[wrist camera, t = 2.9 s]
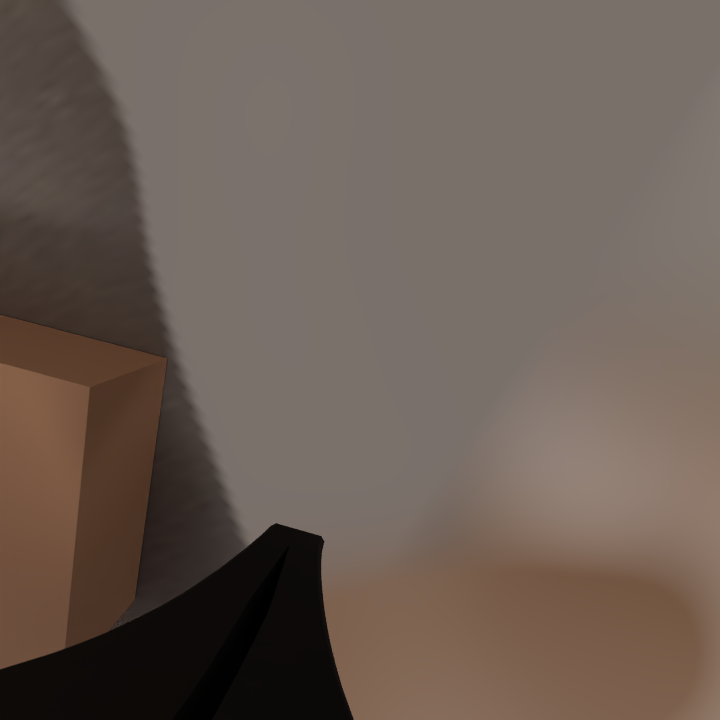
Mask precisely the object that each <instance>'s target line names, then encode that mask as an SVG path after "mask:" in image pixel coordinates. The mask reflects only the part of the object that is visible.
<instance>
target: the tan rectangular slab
mask: <svg viewBox="0 0 720 720" xmlns="http://www.w3.org/2000/svg"><path fill="white" fill-rule="evenodd" d="M166 365H167V358H164V357H160V356H156V355H153V354H149V353H145V352H141V351H137V350H133V349H130V348H126V347H122V346H118V345H114V344H111V343H107V342H103V341H99V340H95V339H91V338H88V337H84V336H80V335H76V334H72V333H69V332H65V331H61V330H57V329H53V328H49V327H46V326H42V325H38V324H34V323H30V322H27V321H23V320H19V319H15V318H11V317H7V316H4V315H0V669H3V668H6V667H9V666H12V665H16V664H19V663H22V662H25V661H29V660H32V659H35V658H38V657H42V656H45V655H48V654H51V653H54V652H57V651H60V650H62V649H65V648H68V647H71V646H73V645H76V644H79V643H81V642H84V641H87V640H89V639H92V638H94V637H97V636H99V635H101V634H104V633H106V632H109V630H110V629H111V628H112V627H113V626H114V624H115V623H116V622H117V621H118V620H119V618H120V617H121V616H122V615H123V614H124V612H125V611H126V610H127V609H128V608H129V606H130V605H131V604H132V603H133V602H134V600H135V594H136V587H137V579H138V572H139V565H140V557H141V550H142V543H143V535H144V528H145V520H146V513H147V506H148V498H149V491H150V484H151V476H152V469H153V461H154V454H155V447H156V439H157V432H158V424H159V417H160V410H161V402H162V395H163V388H164V380H165V373H166Z"/></svg>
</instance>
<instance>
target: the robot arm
mask: <svg viewBox="0 0 720 720" xmlns="http://www.w3.org/2000/svg"><path fill="white" fill-rule="evenodd" d="M323 545H324V540H323V539H322V537H321V536H319V535H315V534H312V533H308V532H305V531H301V530H298V529H294V528H290V527H287V526H283V525H280V524H277V523H276V524H274V525H272V526H270V527H269V528H268V529H267V530H266V531H265V532H264V533H263V534H262V535H261V536H260V537H259V538H257V539H256V540H255V541H254V542H253V543H251V544H250V545H249V546H248V547H247V548H246V549H244V550H243V551H242V552H241V553H239V554H238V555H237V556H235V557H234V558H233V559H232V560H230V561H229V562H228V563H226V564H225V565H224V566H222V567H221V568H220V569H218V570H217V571H215V572H214V573H212V574H211V575H210V576H208V577H207V578H205V579H204V580H202V581H201V582H199V583H198V584H196V585H195V586H193V587H192V588H190V589H189V590H187V591H185V592H184V593H182V594H181V595H179V596H177V597H176V598H174V599H172V600H170V601H169V602H167V603H165V604H163V605H161V606H160V607H158V608H156V609H154V610H152V611H150V612H148V613H146V614H144V615H142V616H140V617H138V618H136V619H134V620H132V621H130V622H128V623H126V624H124V625H122V626H120V627H118V628H116V629H113V630H111V631H109V632H106V633H104V634H101V635H99V636H97V637H94V638H92V639H89V640H87V641H84V642H81V643H79V644H76V645H73V646H71V647H68V648H65V649H62V650H60V651H57V652H54V653H51V654H48V655H45V656H42V657H38V658H35V659H32V660H29V661H25V662H22V663H19V664H16V665H12V666H9V667H6V668H3V669H0V720H353V716H352V714H351V711H350V708H349V705H348V702H347V700H346V697H345V694H344V691H343V688H342V685H341V682H340V679H339V675H338V671H337V668H336V665H335V660H334V657H333V653H332V648H331V644H330V639H329V634H328V629H327V623H326V617H325V611H324V603H323V593H322V581H321V556H322V549H323Z"/></svg>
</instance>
